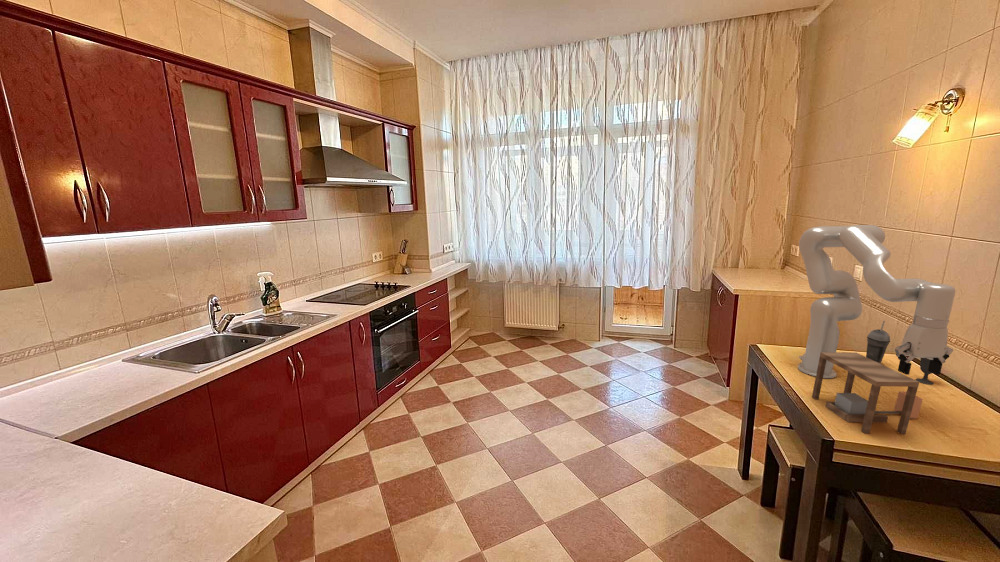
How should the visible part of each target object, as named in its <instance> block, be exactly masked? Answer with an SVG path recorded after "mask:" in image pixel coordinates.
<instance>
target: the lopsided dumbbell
mask: <svg viewBox="0 0 1000 562" xmlns="http://www.w3.org/2000/svg"><path fill="white" fill-rule="evenodd" d="M906 393H907V391H898V394H897V397H896V402H895V405H894V408H893V410H891V411H890V410H887V411H885V410H875V413H874V415H886V414H888V415H892V414H893V415H898V414H899V415H901V413H902V409H903V405H904V401H905V397H906ZM923 400H924V399H923V398H922V397H920V396H917V395H916V396H915V400H914V404H913V408H912V412H911V415H910V419H918V418H919V415H920V412H921V408H922V404H923ZM834 402H835V404H834V406H836V407H837V408H839V409H840V410H842V411H843V412H845V413H847V414H848V415H865V412H866V407H867V403H868V400H867V399H866V398H865V397H862V396H861V395H859V394H857V393H855V392H851V393H844V392H836V395H835V400H834Z"/></svg>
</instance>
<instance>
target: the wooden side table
mask: <svg viewBox="0 0 1000 562" xmlns="http://www.w3.org/2000/svg"><path fill="white" fill-rule="evenodd" d="M826 360H828V361H830V362H831V363H833V364H834V365H835V366H837V367H839V368H841V369H843V370H844V371H846V372H847V376H846V381H845V384H844V388H843V393H852V391H853V387H854V381H855V377H858V378H859V379H862V380H863V381H865V382H867V383H869V384H871V385H870V391H869V395H868V403H867V407H866V412H865V415H848V414H847V413H845V412H843V411H842V410H840V409H839V408H837V407H836V406H834V404H835V401H826V402H825V405H824V406H825V408H827V410H829V411H831V412H832V413H833V414H834V415H836V416H838V417H839V418H841V419H842V420H844V421H846V422H847V423H862V425H861V429H860V431H861V433H863V434H864V435H865V434H866V435H870V434H871V430H872V425H873V423H888V420H889V417H888V416H887V415H886V414H874V413H875V411H876V408H877V403H878V400H879V395H880V391H881V387H899V388H900V387H907V388H906V392H907V393H906V397H905V401H904V405H903V409H902V413H901V414H900V416H899V421H898V426H897V429H896V432H897V433H898V432H899V433H898V434H900V435H906V434H907V431H908V426H909V422H910V419H911V418H910V415H911V412H912V408H913V404H914V400H915V396H917V392H918V388H919V384H920V382H918V381H916V379H913V378H911V377H909V376H907V375H906V374H904V373H901V372H899V371H898V370H895V369H892V368H891V367H888V366H886V365H884V364H882V363H881V364H880V363H878V362H875V361H873V360H871V359H869V358H867V357H866V355H862V354H860V353H858V352H849V351H847V352H843V351H842V352H840V351H839V352H838V351H836V352H820V358H819V363H818V368H817V373H816V377H815V379H814V384H813V390H812V395H811V398H812V399H813V400H819V398H820V394H821V389H822V384H823V380H824V378H823V375H824V370H825V365H826Z"/></svg>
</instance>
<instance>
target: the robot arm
mask: <svg viewBox="0 0 1000 562" xmlns="http://www.w3.org/2000/svg"><path fill="white" fill-rule="evenodd" d="M885 239H886V233H885V231H884V230H883V229H882V228H881V227H879V226H877V225H875V224H853V225H831V226H830V225H819V226H814V227H810V228H808V229H806V230H805V231H804V232H803V233H802V234H801V236H800V239H799V242H798V248H799V252H800V255H801V257H802V260H803V264H804V268H805V271H806V272H805V273H806V276H807V277H806V278H807V280H808V285H809V288H810V290H811V292H813V293H814V294H816V295H833V296H832V297H830V296H829V297H820V298H818V299H815V300H814V301H813V302H812V303H811V305H810V309H809V313H810V323H809V330H808V331H809V332H808V337H807V342H806V346H805V352H804V354H802V355H799V357H798V359H800V360H801V363H798V364H797V369H798V370H799V371H800V372H802V373H803V374H806V375H808V374H809V375H808V376H811V375H812V376H811V377H815V376H816V373H817V368H818V363H819V358H820V352H837V349H838V346H839V345H838V344H839V340H840V335H841V334H840V327H839V325H838V322H844V321H855V320H857V319H858V318H859V317H860V316H861V315H862V312H863V305H862V304H863V303H862V301H861V296H860V292H859V288H858V284H857V281H856V279H855V277H854V276H853V275H852V274H851V273H850V272H848V271H846V270H836V269H835V270H834V267H833V265H832V264H833V263H832V259H831V258H830V256H829V255H828V253H827V252H826V251H825V250H824V248H845V249H846V251H848V252H849V253H850V254H851V255H852V257H853V258H854V259H856V260H857V261H858V262H859V263H860V265H861V266H862V273H863V274H862V275H863V279H864V281H865V283H866V284H867V286H869V288H870V289H871V290H872V291H873V292H874V293H875V294H876V295H878V296H879V298H882V299H883V300H884V301H887V302H891V303H897V302H898V303H901V302H916V305H915V309H914V314H913V318H912V322H911V324H909V325H908V327H907V328H906V330H905V333H904V335H903V339H902V342H901V345H899V346H896V347H895V348H894V352H895V356H896V357H897V359H898V360H899V363H898V368H897V372H899V373H901V374H903V375H905V376H907V375H910V372H911V367H912V363H911V362H912V361H913V360H914V359H915V358H917V359H921V358H932V359H933V360H930V363H929V368H928V371H929V372H932V374H935V375H937V376H939V375H941V371H942V368H943V364H944V363H946V361H947V360H948V359H949V358H950V355H951V354H952V353H953V352H954V349H953V348H951V347H950V346H947V345H948V339H949V337H948V336H949V333H948V325H949V323H950V316H951V312H952V308H953V304H954V299H955V295H956V288H955V287H954V286H952V285H949V284H945V283H937V282H935V283H934V282H932V281H928V280H925V279H921V278H912V277H911V278H896V277H895V276H893V275H892V274H891V273H890V272H889V271H888V270H887V269H886V268H885V266H884V263H886V262H887V261H888V260H889V259H890V258H891V251H890V250H889V249H888V248H887V246H885V245H884V242H885ZM834 365H835V364H833V363H831V362H830V361H828V360H826V365H825V370H824V375H823V379H834V377H835V378H836V377H837V375H838V374H837V371H835V370H834V369H833V368H834Z"/></svg>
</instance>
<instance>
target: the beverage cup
mask: <svg viewBox="0 0 1000 562" xmlns="http://www.w3.org/2000/svg"><path fill="white" fill-rule="evenodd" d="M885 322H886V321H885V320H883V321H882V323H881V327H880V329H873V330H871V331H870V332H869V333H868V334H867V337H866V342H867V344H866V355H865V357H867V358H869V359H871V360H873V361H875V362H878V363H880V364H882V362H883V359H884V356H885V354H886V350H887V348H888V346H889V344H890V342H891V336H890V334H889V333H888V332H887V331H885V330H883V328H884V326H885Z"/></svg>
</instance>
